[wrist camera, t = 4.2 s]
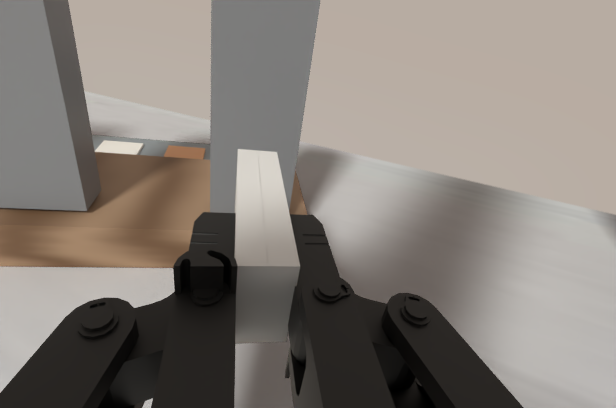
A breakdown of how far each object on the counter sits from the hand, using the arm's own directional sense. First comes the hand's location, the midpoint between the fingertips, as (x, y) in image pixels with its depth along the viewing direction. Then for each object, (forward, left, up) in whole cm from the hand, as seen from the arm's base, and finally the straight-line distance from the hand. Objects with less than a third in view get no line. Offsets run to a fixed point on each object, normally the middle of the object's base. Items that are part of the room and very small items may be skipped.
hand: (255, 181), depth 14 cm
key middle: (+6, -13, -6) cm, 15 cm away
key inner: (-4, -7, -6) cm, 10 cm away
